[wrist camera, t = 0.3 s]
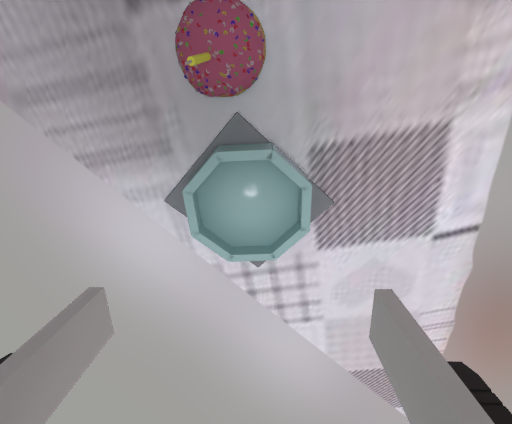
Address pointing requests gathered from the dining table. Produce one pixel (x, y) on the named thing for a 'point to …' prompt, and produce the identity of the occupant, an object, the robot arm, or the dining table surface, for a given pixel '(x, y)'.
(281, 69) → the dining table surface
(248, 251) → the bowl
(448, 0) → the dining table surface
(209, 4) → the cupcake
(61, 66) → the dining table surface
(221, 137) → the placemat
